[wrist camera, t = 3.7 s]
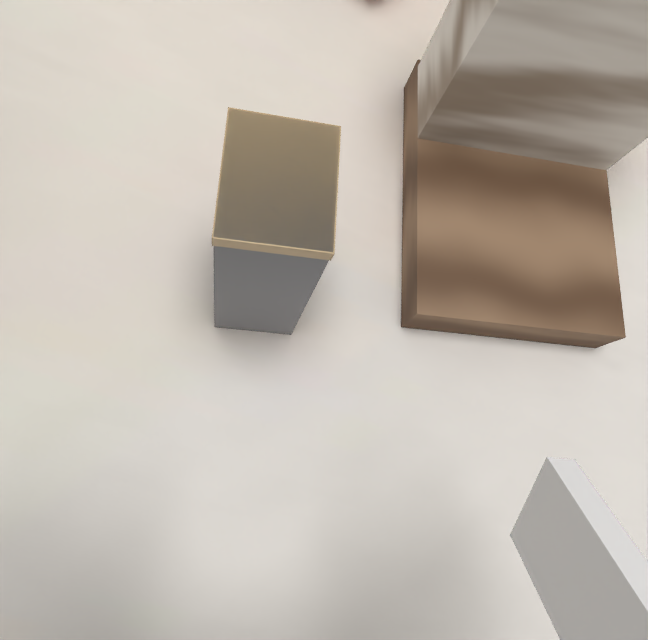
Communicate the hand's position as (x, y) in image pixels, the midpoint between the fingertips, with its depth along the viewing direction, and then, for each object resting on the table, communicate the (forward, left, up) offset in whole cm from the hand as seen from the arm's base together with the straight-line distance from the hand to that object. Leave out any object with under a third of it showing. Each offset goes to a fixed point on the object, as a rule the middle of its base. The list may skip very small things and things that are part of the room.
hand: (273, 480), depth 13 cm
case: (+9, +4, -14) cm, 18 cm away
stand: (+20, -7, -14) cm, 26 cm away
